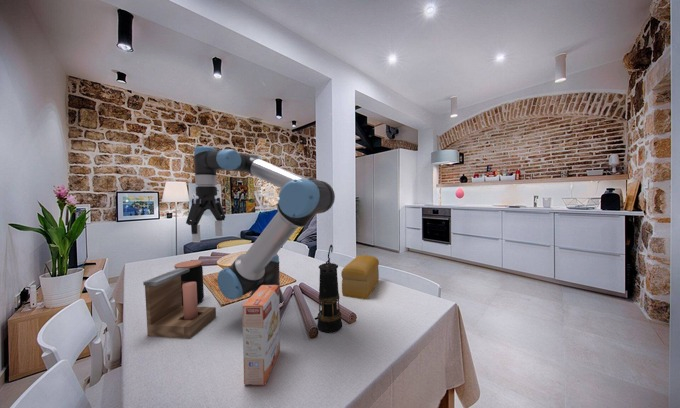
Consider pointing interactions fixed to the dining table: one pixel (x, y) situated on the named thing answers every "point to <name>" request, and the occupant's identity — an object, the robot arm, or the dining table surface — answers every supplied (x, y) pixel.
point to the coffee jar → (192, 276)
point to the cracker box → (261, 334)
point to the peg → (190, 300)
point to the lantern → (329, 298)
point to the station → (171, 308)
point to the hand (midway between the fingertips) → (208, 238)
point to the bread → (360, 277)
